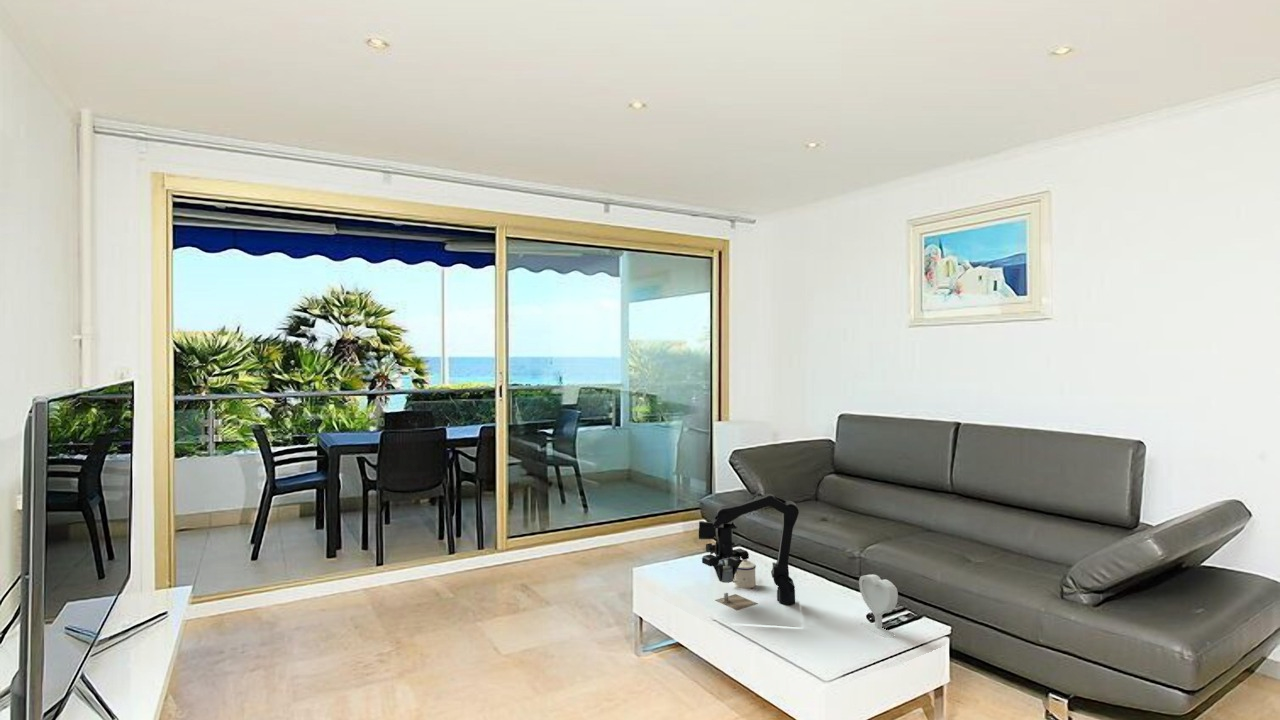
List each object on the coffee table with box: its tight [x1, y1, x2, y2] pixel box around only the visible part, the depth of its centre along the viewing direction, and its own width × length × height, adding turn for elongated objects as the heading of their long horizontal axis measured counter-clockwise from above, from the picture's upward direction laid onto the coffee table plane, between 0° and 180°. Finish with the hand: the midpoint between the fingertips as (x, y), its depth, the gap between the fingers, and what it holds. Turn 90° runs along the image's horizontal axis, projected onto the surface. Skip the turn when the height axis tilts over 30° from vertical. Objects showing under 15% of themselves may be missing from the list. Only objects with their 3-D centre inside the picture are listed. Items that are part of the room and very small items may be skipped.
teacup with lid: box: [732, 558, 757, 589], centre depth 284 cm, size 12×9×12 cm
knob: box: [718, 566, 734, 584], centre depth 266 cm, size 5×5×5 cm
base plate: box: [714, 592, 759, 611], centre depth 265 cm, size 13×11×4 cm
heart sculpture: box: [858, 574, 899, 638], centre depth 238 cm, size 16×5×18 cm, turn 21°
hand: (726, 579), depth 266 cm, fingers closed on knob, 5 cm apart
